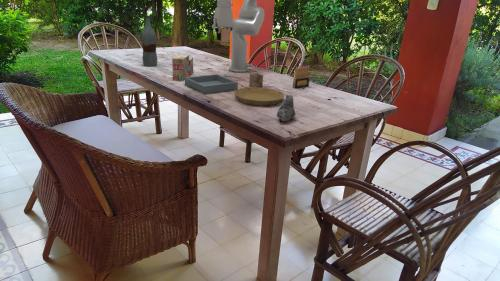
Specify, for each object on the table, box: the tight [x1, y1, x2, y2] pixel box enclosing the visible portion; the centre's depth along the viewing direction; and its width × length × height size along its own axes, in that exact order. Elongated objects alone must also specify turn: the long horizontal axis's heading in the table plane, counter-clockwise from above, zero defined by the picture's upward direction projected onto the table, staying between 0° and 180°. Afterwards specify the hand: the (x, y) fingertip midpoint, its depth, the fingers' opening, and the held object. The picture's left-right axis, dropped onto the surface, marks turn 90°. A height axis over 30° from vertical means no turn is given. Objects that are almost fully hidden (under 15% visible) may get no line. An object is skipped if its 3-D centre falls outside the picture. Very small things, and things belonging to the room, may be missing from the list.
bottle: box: [140, 15, 158, 68], centre depth 230 cm, size 9×9×30 cm
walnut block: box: [248, 72, 264, 88], centre depth 198 cm, size 5×5×7 cm
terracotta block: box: [216, 27, 231, 43], centre depth 205 cm, size 5×5×7 cm
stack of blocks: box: [171, 53, 194, 82], centre depth 211 cm, size 21×6×12 cm, turn 174°
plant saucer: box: [233, 87, 286, 106], centre depth 178 cm, size 24×24×3 cm
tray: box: [184, 73, 239, 95], centre depth 193 cm, size 20×20×4 cm
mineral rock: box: [276, 94, 296, 122], centre depth 152 cm, size 13×11×10 cm
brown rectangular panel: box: [292, 64, 310, 89], centre depth 202 cm, size 11×2×12 cm, turn 127°
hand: (223, 39), depth 206 cm, fingers closed on terracotta block, 5 cm apart
